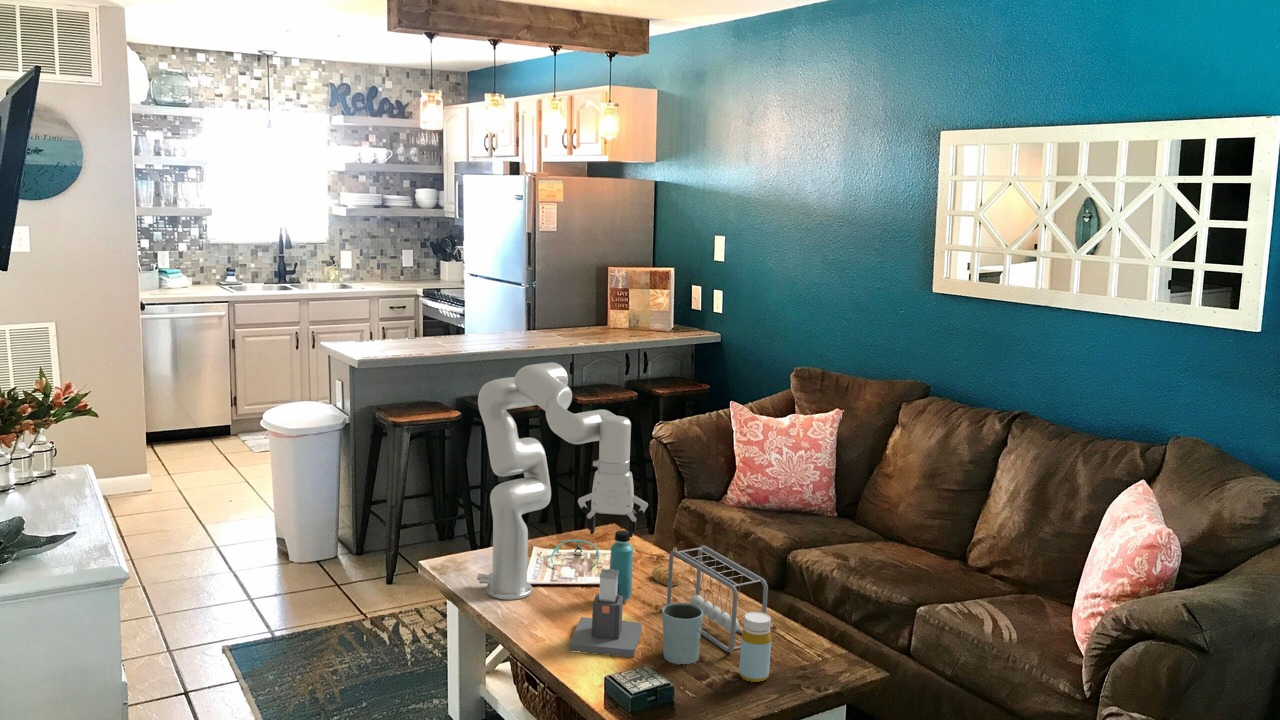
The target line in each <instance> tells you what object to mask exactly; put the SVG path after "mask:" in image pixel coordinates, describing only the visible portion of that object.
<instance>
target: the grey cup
mask: <svg viewBox="0 0 1280 720" xmlns="http://www.w3.org/2000/svg"><path fill="white" fill-rule="evenodd" d="M661 615H662V616H661V618H662V633H663V634H662V638H663V640H662V642H663V648H662V650H663V658H664V660H665V661H667V662H669V663H670V664H674V663H675V665H680V664H684V665H685V664H687V665H692V664H695V663H697V662H698V660H699V655H700V643H701V642H700V641H701V629H702V627H703V621H704V620H703V619H704V615H703V610H702V609H701V608H700V607H698V606H696V605H693V604H690V602H689V603H687V602H673V603H672V602H671V604H668V605H667V604H666V605H664V606H663V607H662V610H661ZM691 663H692V664H691ZM684 665H683V666H684ZM685 666H686V665H685Z"/></svg>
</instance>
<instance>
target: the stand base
mask: <svg viewBox="0 0 1280 720" xmlns="http://www.w3.org/2000/svg"><path fill="white" fill-rule="evenodd" d="M623 608H624V600H623V596H619V595H617V604H613V603H601V602H599V593H596V594H595V597H594V599H593V601H592V613H591V614H592V617H584V616H580V618H579V620H578V623H577V625H576V627H575V630H574V632H573V635H572V637H571V640H570V642H569V650H570V651H580V652H587V653H586V654H591V653H596V654H595V655H601V654H609V655H608V656H612V655H614V656H613V657H622V656H625V657H624V658H633V657H634V658H635V656H636V653H637V648H638V644H639V642H640V636H641V633H642V631H643V630H642V629H643V626H642V625H643V622H638V621H637V622H636V621H630V620H629V621H627V620H623V610H624V609H623ZM570 651H569V652H570ZM580 652H579V653H580ZM635 652H636V653H635ZM616 655H617V656H616Z"/></svg>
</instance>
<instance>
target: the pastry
mask: <svg viewBox="0 0 1280 720" xmlns="http://www.w3.org/2000/svg"><path fill="white" fill-rule="evenodd" d="M668 572H669V566H667V564H663V563H662V564H658V565H657V566H655V567H654V568H653V570H652V572H651V576H652V578H653V579H654V580H655V581H656V582H658V583H660V584H662V585H665V586H667V587H668ZM680 583H681V578H680V575H679V573H678V572H677V571H676V570H675V568H673V576H672V587H674V586H677V585H680Z"/></svg>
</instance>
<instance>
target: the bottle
mask: <svg viewBox="0 0 1280 720" xmlns="http://www.w3.org/2000/svg"><path fill="white" fill-rule="evenodd" d="M771 622H772V619H771V616H770V615H769V614H767V613H766V614H765V613H762V611H761V612H760V611H750V612H747V613H745V614H744V619H743V629H742V630H743V632H742V635H741V638H740V646H741V647H740V648H739V649H740V651H739V666H738V667H739V668H738V675H739V676H740V677H742V678H743V679H742V678H741V679H742V680H744V679H745V680H747V681H746V682H748V681H751V682H750V683H752V682H760V681H763V682H765V681H766V680H767V679H768V678H769V676H770V675H769V674H770V665H771V651H772V650H771V647H772V634H771ZM745 680H744V681H745ZM764 680H765V681H764ZM760 683H761V682H760Z"/></svg>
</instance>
